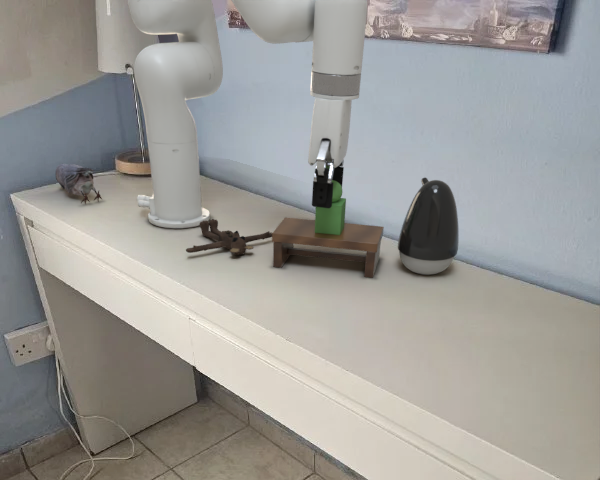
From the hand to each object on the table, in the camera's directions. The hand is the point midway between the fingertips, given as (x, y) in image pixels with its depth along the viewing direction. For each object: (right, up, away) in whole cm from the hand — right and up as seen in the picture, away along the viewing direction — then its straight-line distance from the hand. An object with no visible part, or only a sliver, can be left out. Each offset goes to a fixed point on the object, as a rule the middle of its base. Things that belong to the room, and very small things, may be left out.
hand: (327, 198), depth 104 cm
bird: (-55, +12, +36) cm, 66 cm away
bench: (0, -10, +6) cm, 11 cm away
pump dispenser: (+17, -11, +5) cm, 21 cm away
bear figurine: (-19, -5, +12) cm, 23 cm away
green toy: (0, -5, +3) cm, 5 cm away
